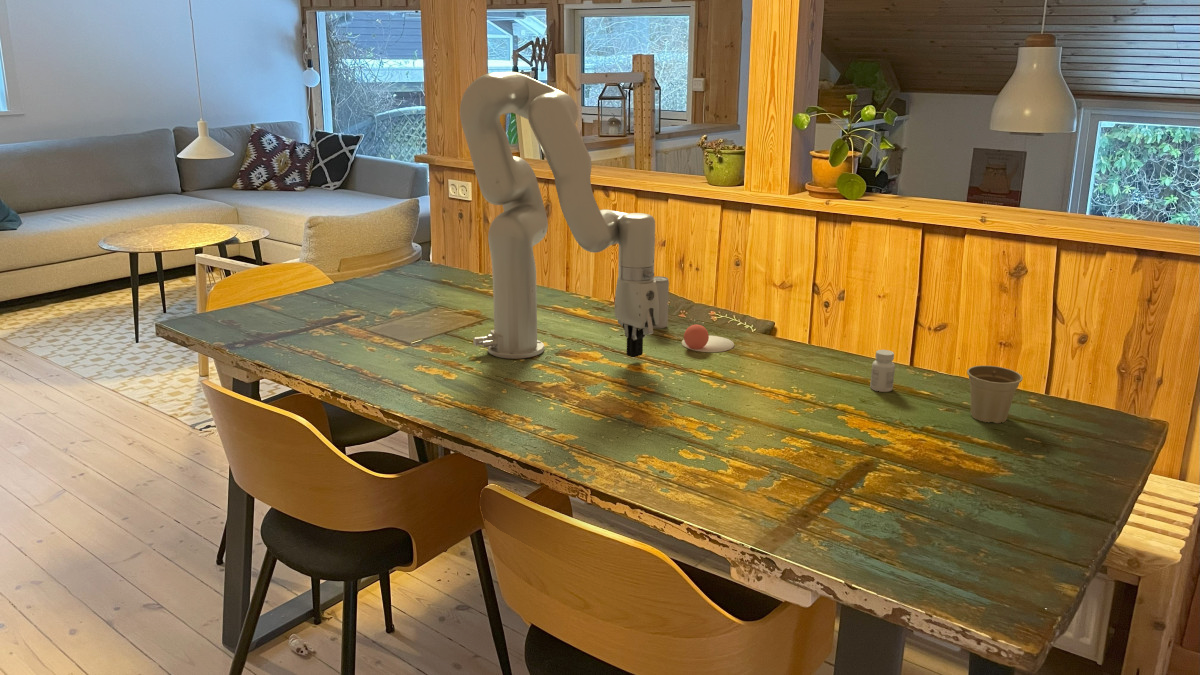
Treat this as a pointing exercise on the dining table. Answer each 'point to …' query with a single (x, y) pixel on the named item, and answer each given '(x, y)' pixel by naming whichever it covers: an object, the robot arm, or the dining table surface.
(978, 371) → the flower pot
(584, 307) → the dining table surface
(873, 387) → the pill bottle
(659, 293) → the beverage can
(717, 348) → the disc
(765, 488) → the dining table surface
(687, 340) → the ball
